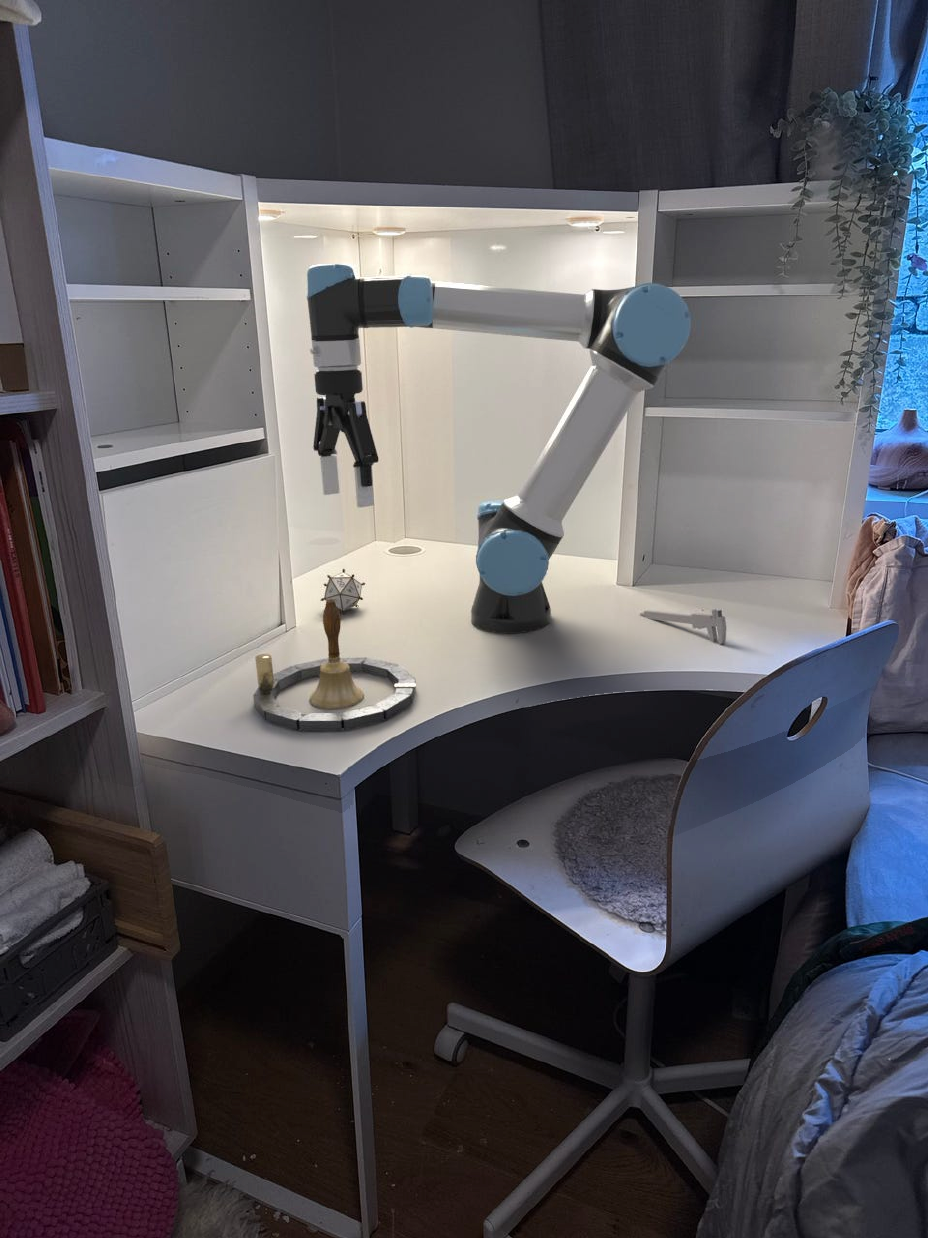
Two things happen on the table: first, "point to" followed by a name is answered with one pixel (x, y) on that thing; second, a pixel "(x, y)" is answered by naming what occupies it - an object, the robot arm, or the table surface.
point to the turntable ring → (329, 721)
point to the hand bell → (334, 669)
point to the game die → (343, 591)
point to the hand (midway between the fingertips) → (347, 499)
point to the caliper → (695, 621)
